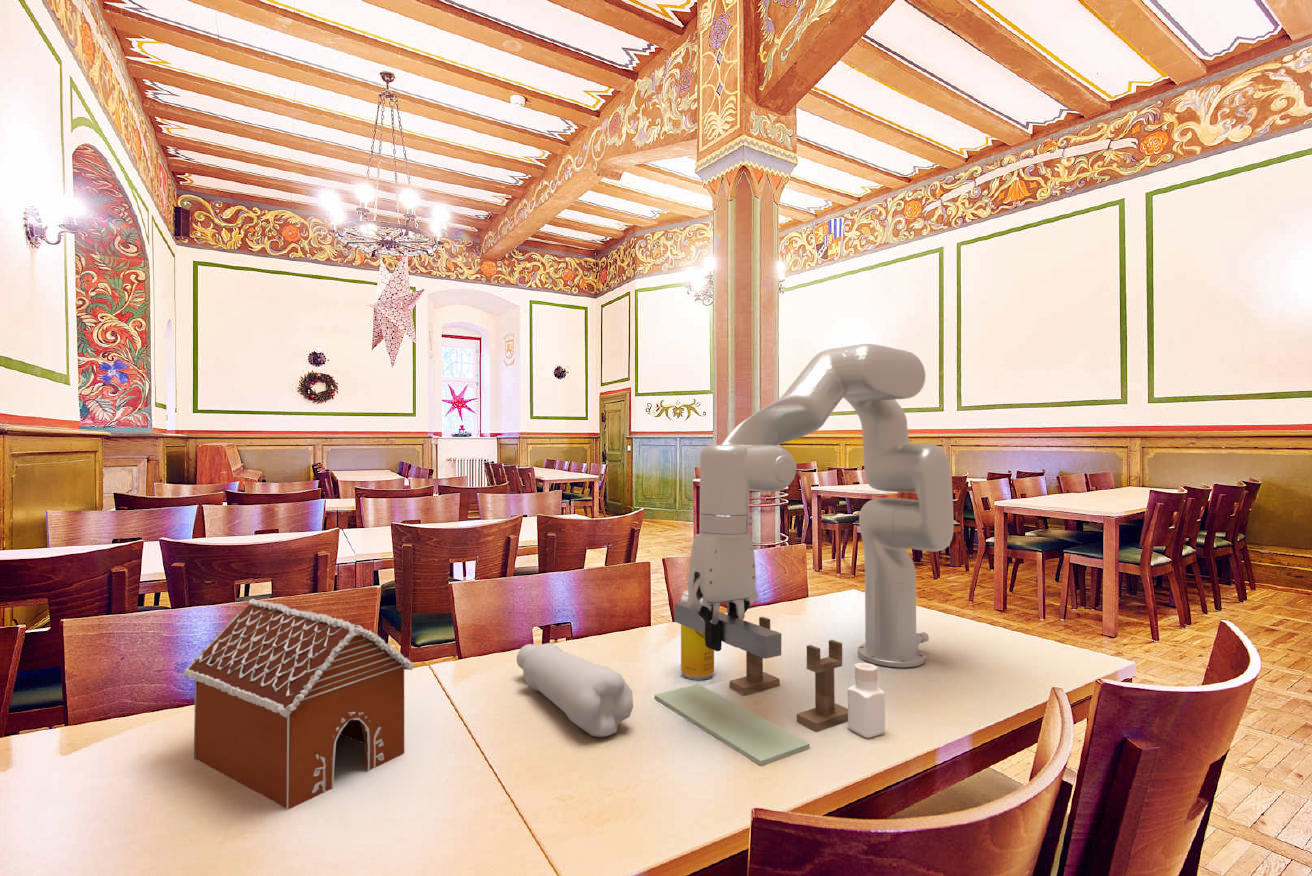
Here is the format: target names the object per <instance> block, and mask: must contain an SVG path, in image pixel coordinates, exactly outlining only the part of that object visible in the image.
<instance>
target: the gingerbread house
mask: <svg viewBox="0 0 1312 876" xmlns="http://www.w3.org/2000/svg"><path fill="white" fill-rule="evenodd" d="M248 603H249V604H248V605H247V606H246V607H244V609H243V610H242V611H239V612H237V613H236V615H235V617H233V618H231V619H230V620H229V621H228V623H227V625H226V626H225V627H222V631H221V632H218V633H216V634H215V637H214V639H213V641H211V642H210V643H208V645H207V646H206V648H204V649H202V650H201V652H200V653H199V655H198V656H197V657H195V658H194V659H193V660H192V662H191V664H190V665H188V666H186V667H185V669H184V671H182V674H183V675H184V676H186V678H189V679H192V680H194V722H193V723H194V724H193V726H194V727H193V728H194V732H193V736H194V737H193V740H194V741H193V760H196V761H199V762H200V763H202V764H204V765H205V766H208V767H209V768H211V769H213V770H215V771H217V772H218V773H221V774H223V775H224V776H225V777H228V778H230V779H231V780H233V781H235V782H237V783H239V784H241V785H243V786H245V787H246V788H249V790H252V791H253V790H254V791H253V792H255V793H258V794H260V795H261V794H262V795H261V796H263V797H264V798H266V799H268V800H270V801H272V802H274V803H275V804H278V805H280V806H281V807H283V808H285V809H286V811H288V810H291V809H293V808H295V807H297V806H298V805H299V806H300V805H301V804H303V803H305V802H307V801H310V800H312V799H313V798H316V797H318V796H319V795H322V794H324V793H326V792H328V791H330V790H333V789H334V782H335V781H334V778H335V777H334V776H335V765H336V748H337V741H338V740H339V739H338V738H339V737H340V735H341V736H343V737H345V738H348V739H350V740H353V741H356V742H358V743H361V744H364V762H363V763H364V764H363V767H364V768H363V769H365V770H367V772H370V771H371V770H374V769H376V768H377V767H380V766H381V765H383V764H385V763H387V762H390V761H393V760H394V759H396V758H398V757H400V756H402V755H404V754H405V670H409V671H412V670H413V669H414V666H415V665H414V662H413V661H411V660H410V659H408V657H405V656H404V655H403V654H402V653H400V652H399V651H397V649H396V648H395V647H394V646H392V645H390V643H386V641H385V639H383V638H381V636H379V634H377V633H375V632H372V630H368V629H367V628H364V627H363V626H361V625H359V624H354V623H351V622H349V621H348V620H347V621H345V620H343V618H337V617H334V618H333V617H332V616H330V615H327V613H326V614H324V613H319V614H318V613H317V612H313V611H307V610H304V611H303V610H298V609H296V607H294V608H291V607H289V606H287V605H283V603H278V602H276V603H274V601H272V602H270V601H263V600H259V601H258V600H257V599H255V598H251V599H249V600H248Z"/></svg>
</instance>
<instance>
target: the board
mask: <svg viewBox="0 0 1312 876" xmlns="http://www.w3.org/2000/svg"><path fill="white" fill-rule="evenodd" d="M654 699H655V701H658V702H659V703H660V704H663V705H664V706H665V707H667V708H668V709H670V710H672V711H674V712H675V713H677V714H678V715H680V716H681V717H683V718H684V719H686V720H687V721H689V722H691V723H693V724H694V725H696V726H697V727H699V728H700V729H702V730H704V731H705V732H706V733H708V734H710V735H711V736H713V737H715V738H716V739H718V740H719V741H721V742H722V743H724V744H726V745H727V746H729V747H730V748H732V749H733V750H736V751H737V752H738V753H740V754H742V755H743V756H745V757H746V758H748V759H750V760H751V761H752V762H754V763H755V764H757V765H758V766H765V765H767V764H770V763H772V762H775V761H777V760H781V759H783V758H786V757H789V756H791V755H794V754H797V753H800V752H803V751H805V750H806V751H807V750H808V749H811V744H810V742H808V741H806V740H804V739H802V738H800V737H798V736H796V735H794V734H792V733H791V732H789V731H788V730H785V729H783V728H782V727H780V726H778V725H776V724H774V723H772V722H770V721H769V720H766V719H765V718H763V717H761V716H759V715H757V714H755V713H753V712H751V711H750V710H748V709H747V708H746V709H745V708H744V707H742V706H740V705H738V704H736V703H734V702H733V701H731V700H729V699H727V698H725V697H723V696H722V695H720V694H717V693H716V692H714V691H712V690H710V689H708V688H706V687H705V686H703V685H701V684H699V683H696V684H693V685H689V686H684V687H680V688H676V689H672V690H668V691H664V692H661V693H657V694H654Z"/></svg>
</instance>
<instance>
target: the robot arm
mask: <svg viewBox="0 0 1312 876" xmlns="http://www.w3.org/2000/svg"><path fill="white" fill-rule="evenodd" d="M925 382H926V371H925V367H924V364H923V362H922V361H921V359H920V358H919V357H918V356H917V355H916V354H915V353H913V352H911V351H908V350H902V349H899V348H893V347H890V346H885V345H881V344H873V343H862V344H854V345H850V346H849V345H848V346H842V347H835V348H829V349H824V350H823V351H821V352H819V353H817V354H816V355H815V356H814V357H813V358H812V359H811V360H810V361H809V362H808V363H807V365H806V366H805V367H804V369H803V370H802V371H801V372H800V373H799V374H798V375H797V377H796V378H795V379H794V381H793V383H792V384H791V385H790V386H789V387H788V389H787V390H786V391H785V392H784V394H782V395H781V396H780V397H779V398H777V399H775V400H774V401H772V402H770V403H769V404H767V405H765V406H764V407H763V408H761V409H759V410H758V411H756V412H755V413H753V414H751V415H750V416H748V417H747V418H745V419H744V420H743V421H741V422H740V423H739V424H737V425H736V427H734V428H733V429H732V431H731V432H730V433H729V434H728V435H727V436H726V438H725V439H724V440H723V441H722V442H721V444H710V445H707V446H705V447H703V448H702V450H701V452H700V459H699V461H700V464H699V465H700V467H699V470H700V471H699V528H698V529H699V533H697V534H694V536H693V542H692V545H691V551H690V557H689V566H688V567H689V568H688V578H687V579H688V580H687V581H688V582H687V590H688V594H689V598H688V600H687V602H686V606H687V607H688V608H690V609H692V610H694V611H696V612H697V613H698V614H699V615H700V616H701V618H702V620H703V621H705V645H706V647H708V648H710V649H712V650H714V652H721V650H722V643H723V641H721V624H719V623H718V621H719V612H720V609H721V604H723V603H726V614H727V615H730V616H733V617H736V618H739V619H741V620H745V617H746V614H745V613H746V612H747V611H748V609H749V607H750V606H751V605H752V604H753V603H755V601H757V600H758V599H759V594H758V591H757V589H756V576H757V575H756V558H755V551H754V550H755V549H754V543H753V538H752V534H751V533H750V526H751V525H752V524H753V518H752V516H750V491H752V492H757V493H758V492H762V493H775V492H779V491H780V492H781V491H783V490H785V489H786V488H787V487H789V486H790V485H791V483H792V482H793V481H794V479H795V476H796V473H797V464H796V460H795V459H794V456H793V455H792V453H790V452H789V451H788V450H787V449H786V448H784V447H782V446H779V445H781V444H784V443H787V442H791V441H794V440H797V439H800V438H803V437H806V436H808V435H810V434H813V433H814V432H817V431H818V430H819V429H821V428H822V427H823V425H824V424H825V422H826V421H828V418H829V417H830V415H831V414H832V413H833V411H834V410H835V409H836V408H837V406H838V404H839V403H840V402H841V400H842V399H844V400H845V401H846V402H847V403H848V404H850V406H851V407H852V409H854V410H855V413H856V414H857V416H858V418H859V420H860V424H861V429H862V430H861V431H862V433H861V434H862V448H863V463H864V464H863V467H864V468H863V469H864V476H865V481H866V483H867V484H868V486H869V487H871V488H872V489H874V490H876V491H882V492H891V493H892V492H893V493H906V494H907V493H910V494H916V497H917V499H908V498H900V497H899V498H898V497H877V498H873V499H870V500H868V501H867V502H865V504H863V506H862V508H861V509H860V511H859V516H858V523H859V531H860V535H861V539H862V545H863V556H864V616H865V617H864V618H865V619H864V623H865V629H864V630H865V632H864V633H865V636H864V637H865V640H864V641H865V643H861V644H860V645H859V646H857V653H856V654H857V655H858V657H859V658H861V659H862V660H864V661H865V662H867V663H870V664H873V665H879V666H883V667H884V666H885V667H891V668H914V667H918V666H921V665H923V664H924V663H925V662H926V655H925V653H924V652H923V651H922V650H920V649H919V645H920V644H923V643H927V642H928V641H929V640H930V638H929V634H928V633H927V632H924V631H923V632H922V631H921V632H919V633H918V632H917V573H916V572H917V571H916V566H915V563H914V561H913V559H912V557H911V555H910V554H909V551H908V550H907V549H911V550H918V551H923V552H924V551H925V552H940V551H944V550H946V549H947V548H948V547H949V546H950V544H951V542H952V541H953V540H952V539H953V537H954V529H955V528H954V526H955V525H954V522H955V521H954V517H955V516H954V499H953V498H954V497H953V496H954V495H953V479H952V468H951V463H950V460H949V457H948V455H947V454H946V452H945V451H944V449H943V448H942V447H940V446H939V445H937V444H933V443H926V442H925V443H923V442H921V443H920V442H919V443H915V442H914V443H911V442H910V440H909V430H908V429H909V428H908V420H907V415H906V414H905V411H904V410H903V408H902V406H901V405H900V403H899V402H898V401H897V400H906V399H911V398H914V397H915V396H917V395H918V394H919V393H920V392H921V391H922V389H923V388H924V385H925ZM701 598H703V603H702V604H700V599H701ZM710 607H711V611H710ZM726 644H727V645H729V646H732V647H734V648H736V649H737V647H735V646H733V645H730V644H728V643H726Z"/></svg>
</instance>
